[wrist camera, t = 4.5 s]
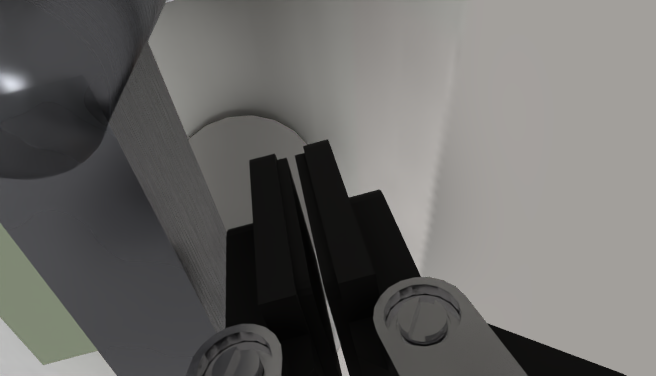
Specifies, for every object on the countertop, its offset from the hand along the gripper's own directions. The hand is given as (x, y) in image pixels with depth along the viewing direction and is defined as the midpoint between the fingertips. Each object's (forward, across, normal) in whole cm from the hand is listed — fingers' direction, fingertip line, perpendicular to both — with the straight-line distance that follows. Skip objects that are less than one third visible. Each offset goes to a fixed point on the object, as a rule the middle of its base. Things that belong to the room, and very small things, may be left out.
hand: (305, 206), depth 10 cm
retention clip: (+13, +3, +5) cm, 15 cm away
